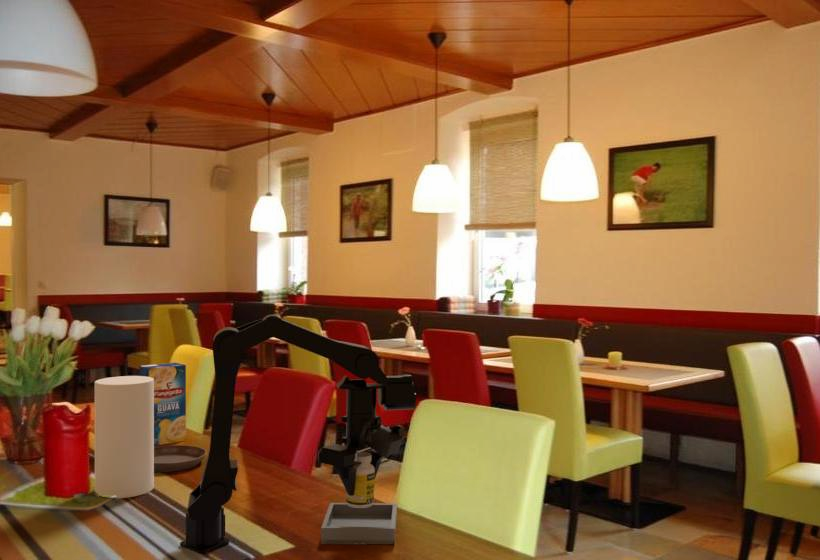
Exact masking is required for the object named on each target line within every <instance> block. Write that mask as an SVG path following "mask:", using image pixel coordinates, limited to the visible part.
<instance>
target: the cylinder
mask: <svg viewBox="0 0 820 560" xmlns="http://www.w3.org/2000/svg"><path fill="white" fill-rule="evenodd" d="M154 447H155V446H154V379H153V378H151V377H146V376H139V375H123V376H121V375H119V376H112V377H103V378H99V379H97V380H95V381H94V492H95V491H96V492H97V493H98V494H100V495H116V496H117V498H116V499H127V498H132V497H138V496H141V495H144V494H147V493H149V492H151V491H152V490H153V489H154V487H155V471H154Z"/></svg>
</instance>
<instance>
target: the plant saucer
mask: <svg viewBox="0 0 820 560" xmlns="http://www.w3.org/2000/svg"><path fill="white" fill-rule="evenodd" d="M206 454H207V450H206V449H205V448H202V447H201V446H200V447H199V446H194V445H187V444H186V445H183V444H182V445H181V444H179V445H177V444H174V445H173V444H172V445H159V446H154V472H156V473H157V472H158V473H160V472H161V473H162V472H163V473H165V472H168V473H169V472H178V471H184V470H188V469H191V468H193V467H196V466H197V465H199V464H200V462H201V461H202V460H203V459H204V458H205V456H206Z"/></svg>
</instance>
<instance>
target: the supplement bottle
mask: <svg viewBox="0 0 820 560" xmlns="http://www.w3.org/2000/svg"><path fill="white" fill-rule="evenodd" d="M357 461H358V462H362V463H361V465H360V466H359V467H358V468H357V469H356V479H355V490H354V495H353V496H350V495H348V493H347V491H346V490H345V493H346V495H345V503H346V504H347V505H348V506H350V507H353V508H367V507H370V506H372V505H373V503H375V480H374V476H375V469H374V466H373V465H372V464H370V462H371V453H368V452H361V453H358V454H357Z"/></svg>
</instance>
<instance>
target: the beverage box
mask: <svg viewBox="0 0 820 560" xmlns="http://www.w3.org/2000/svg"><path fill="white" fill-rule="evenodd" d="M186 366H187V364H184V363H183V364H182V363H179V362H167V363H158V364H157V363H156V364H145V365H139V369H138V370H139V371H138V372H139V374H138V376H146V377H151V378H153V379H154V447H158V446H164V445H167V444H168V445H169V444H173V443H179V442H185V441H186V440H187V411H186V410H187V403H186V402H187V401H186V400H187V379H186V378H187V367H186Z"/></svg>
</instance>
